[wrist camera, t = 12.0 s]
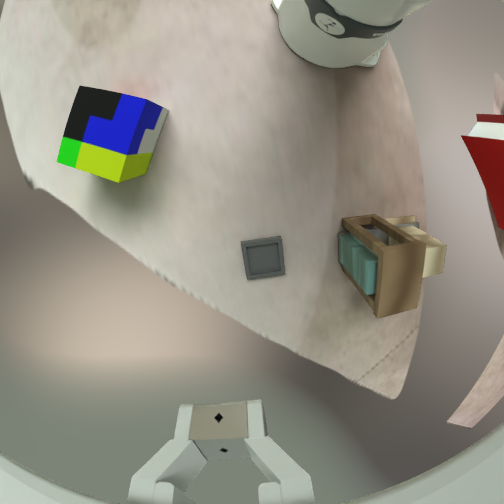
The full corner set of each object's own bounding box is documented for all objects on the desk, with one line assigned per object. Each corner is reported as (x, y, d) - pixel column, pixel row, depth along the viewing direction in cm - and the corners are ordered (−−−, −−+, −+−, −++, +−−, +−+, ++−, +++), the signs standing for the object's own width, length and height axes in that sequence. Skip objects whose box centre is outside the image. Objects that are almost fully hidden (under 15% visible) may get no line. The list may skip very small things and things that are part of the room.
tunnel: (341, 270, 44) (377, 318, 31) (340, 217, 41) (383, 251, 27) (374, 264, 44) (416, 307, 31) (376, 213, 41) (426, 243, 27)
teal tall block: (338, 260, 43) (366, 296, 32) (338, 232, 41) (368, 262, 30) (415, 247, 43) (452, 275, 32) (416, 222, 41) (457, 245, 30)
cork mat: (381, 257, 44) (381, 258, 43) (382, 219, 41) (383, 219, 41) (412, 252, 44) (413, 252, 43) (414, 215, 41) (415, 215, 41)
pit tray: (246, 276, 44) (247, 279, 43) (241, 241, 41) (241, 243, 40) (284, 271, 44) (284, 273, 43) (280, 235, 41) (281, 238, 40)
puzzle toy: (169, 110, 34) (146, 99, 24) (146, 173, 37) (118, 182, 28) (112, 96, 32) (79, 85, 23) (92, 156, 35) (56, 162, 26)
